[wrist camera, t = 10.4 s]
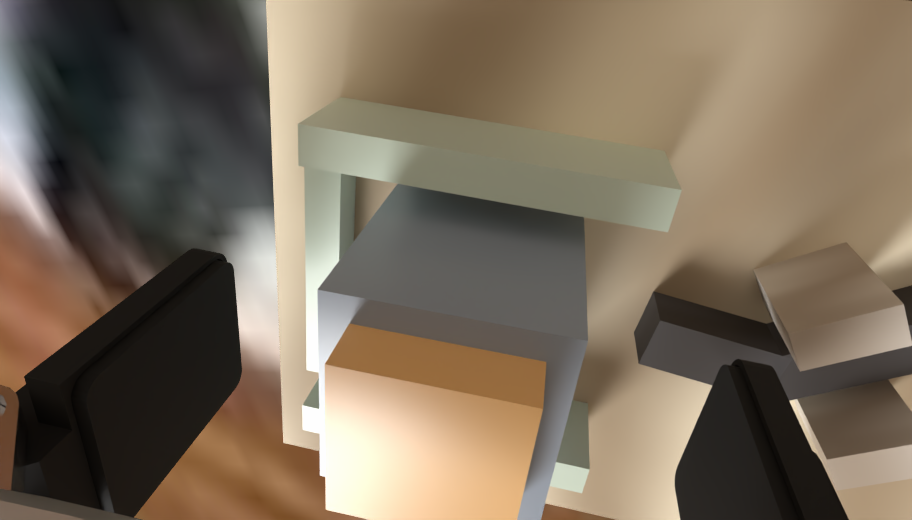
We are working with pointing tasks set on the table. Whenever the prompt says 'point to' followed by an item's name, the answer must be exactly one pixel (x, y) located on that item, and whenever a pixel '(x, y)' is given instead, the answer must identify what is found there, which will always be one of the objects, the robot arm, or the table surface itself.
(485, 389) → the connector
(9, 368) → the table surface
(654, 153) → the bracket
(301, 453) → the table surface
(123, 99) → the table surface
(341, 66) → the board
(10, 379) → the table surface
